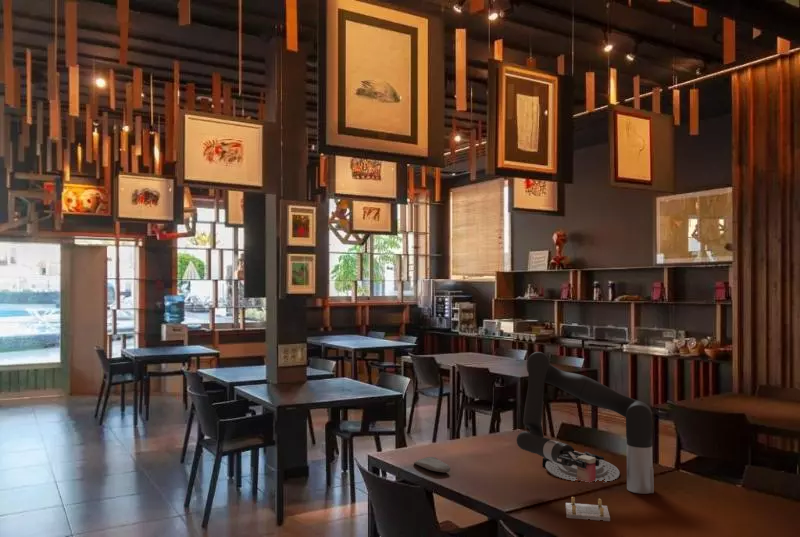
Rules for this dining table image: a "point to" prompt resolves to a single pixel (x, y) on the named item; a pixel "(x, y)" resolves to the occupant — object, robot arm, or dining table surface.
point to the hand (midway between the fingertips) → (591, 464)
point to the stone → (433, 464)
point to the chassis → (587, 511)
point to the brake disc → (570, 473)
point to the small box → (587, 469)
